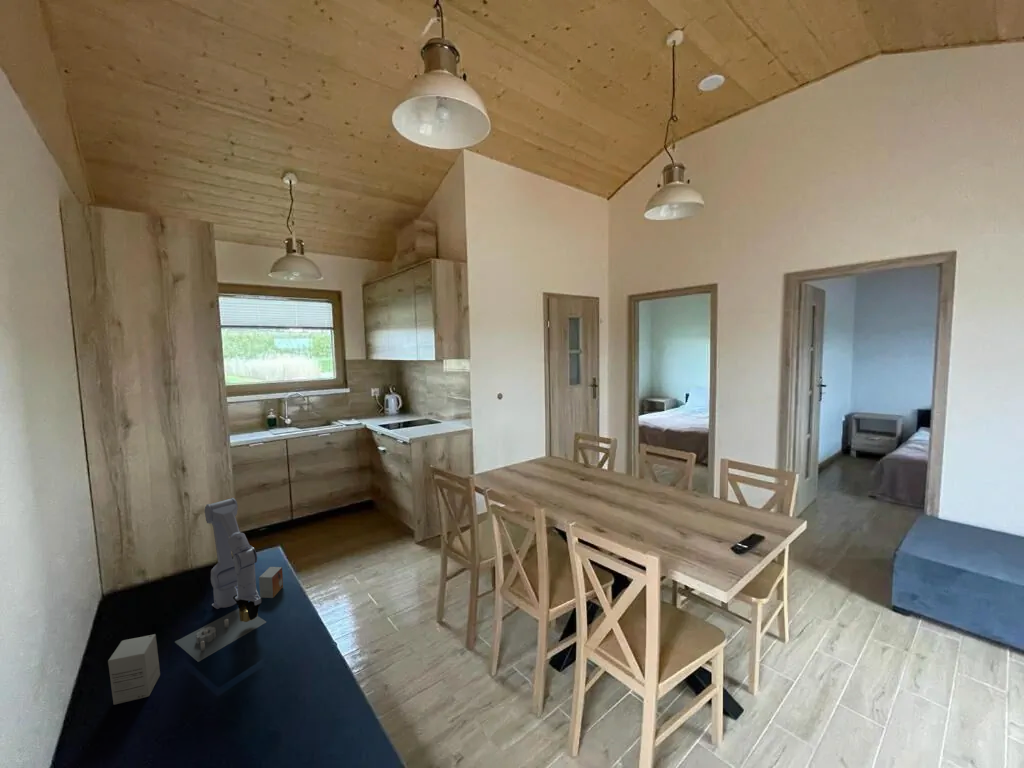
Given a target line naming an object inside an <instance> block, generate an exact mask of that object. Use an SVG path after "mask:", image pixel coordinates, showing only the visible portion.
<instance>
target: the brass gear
mask: <svg viewBox="0 0 1024 768" xmlns="http://www.w3.org/2000/svg"><path fill="white" fill-rule="evenodd" d="M238 608H239V607H238ZM239 616H240V621H241V622H243V621H244V622H248V621H250V618H249V614H248V611H247V609H246V607H245V606H244V605H242V607H240V608H239ZM257 616H259V614H258V613H257ZM254 619H255V618H254ZM252 620H253V619H252Z"/></svg>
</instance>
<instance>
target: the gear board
mask: <svg viewBox="0 0 1024 768" xmlns="http://www.w3.org/2000/svg"><path fill="white" fill-rule="evenodd" d="M266 623H267V621H266V620H264V619H263V618H262V617H260V616H259V615H257V617H256V618H255V619H253V620H250V621H248V622H244V621H243V622H241V621H240V616H239V607H237V608H236V609H235V610H233V611H231V612H229V613H227V614H225V615H223V616H221V617H219V618H217V619H215V620H214V621H211V622H210V623H208V624H206V625H204V626H203V627H200V628H198V629H197V630H195V631H193V632H191V633H188V634H186V635H185V636H182V637H181V638H180V639H177V640H175V641H174V643H175V644H176V645H177V646H179V647H180V648H181V649H182V650H183V651H184V652H186V653H187V654H188V655H189V656H190V657H192V658H193V659H194V660H195V661H197V663H199V662H201V661H202V660H204V659H206V658H207V657H210V656H211V655H213V654H214V653H216V652H218V651H220V650H221V649H223V648H225V647H226V646H229V645H230V644H232V643H234V642H235V641H237V640H238V639H240V638H242V637H243V636H246V635H247V634H249V633H251V632H253V631H254V630H256V629H258V628H259V627H261V626H263V625H265V624H266Z"/></svg>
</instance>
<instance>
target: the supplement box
mask: <svg viewBox="0 0 1024 768" xmlns="http://www.w3.org/2000/svg"><path fill="white" fill-rule="evenodd" d="M158 652H159V651H158V643H157V635H156V633H154V634H150V635H143V636H140V637H134V638H129V639H128V638H127V639H123V640H121V641H120V643H119V644H118V646H117V647H116V649H115V650H114V652H113V653H112V654H111V656H110V657H109V659H108V660H107V665H108V671H109V677H110V688H111V696H112V701H113V702H112V703H113V705H118V704H123V703H126V702H131V701H132V702H133V701H135V700H136V701H137V700H140V699H143V698H147V697H150V695H151V694H152V691H153V690H154V687H155V685H156V684H157V682H158V680H159V678H160V676H161V671H160V670H161V669H160V662H159V653H158Z"/></svg>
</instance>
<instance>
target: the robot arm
mask: <svg viewBox="0 0 1024 768" xmlns="http://www.w3.org/2000/svg"><path fill="white" fill-rule="evenodd" d="M238 509H239V505H238V501H237V500H236V498H234V497H231V498H228V499H224V500H219V501H216V502H212V503H207V504H206V505H205V506H204V517H205V522H206V524H211V525H212V528H213V536H214V544H215V549H216V550H215V551H216V557H217V563H216V564H215V565H214V566H213V568H211V570H210V583H211V586H212V588H213V590H212V591H213V602H214V603H212V604H211V606H212V607H214V608H215V609H216V610H218V609H220V608H228V607H232V606H235V605H237V608H240V607H242V605H244V606H245V607H246V609H247V611H248V614H249V618H250V620H252V619H254V618H256V617H257V616H258V615H257V613H258V612H259V609H260V606H261V604H262V603H263V598H260V594H259V592H258V590H257V582H256V581H257V580H256V563H257V562H258V555H257V552H256V549H255V547H253V546H252V545H250V542H249V540H248V538H247V536H246V534H245V533H244V532H241V531H240V528H239V525H238V521H237V518H236V516H238Z"/></svg>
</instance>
